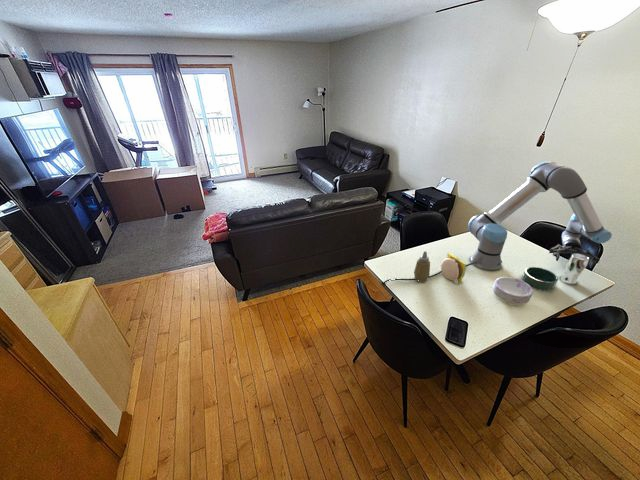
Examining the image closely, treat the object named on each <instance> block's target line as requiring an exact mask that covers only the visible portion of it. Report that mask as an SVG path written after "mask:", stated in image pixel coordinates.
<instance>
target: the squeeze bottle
mask: <svg viewBox="0 0 640 480" xmlns="http://www.w3.org/2000/svg"><path fill="white" fill-rule="evenodd" d="M415 263H416V264H415V267H414V271H413V275H414V279H415V278H416V280H415V281H417V282H419V283H425V282H427V280H428V279H429V278H428V277H429V276H431V275H430V272H431V261H430V257H429V256H428V252H427V250H424V251H423V253H422V255H420V256H419V258H418V259H417V260H416V262H415ZM418 280H419V281H418Z"/></svg>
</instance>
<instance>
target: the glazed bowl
mask: <svg viewBox="0 0 640 480" xmlns="http://www.w3.org/2000/svg"><path fill="white" fill-rule="evenodd" d="M521 280H522V281H524V282H526V283H527V284H528V285H530V286H531V288H532V289H536V290H538V291H544V292H546V291H552V290H554V289H555V287H556V285H557V283H558V281H559V277H558V275H556V273H554V272H553V271H551V270H549V269H546V268H543V267H538V266H528V267H526V268H525V270H524V271H523V273H522V276H521Z"/></svg>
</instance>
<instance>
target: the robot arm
mask: <svg viewBox="0 0 640 480" xmlns="http://www.w3.org/2000/svg"><path fill="white" fill-rule="evenodd" d="M550 189H552V190H554V191H556V192H557V193H559V194H560V196H561V198H562V199H563V200H566V201H567V203H568V205H569V207H570V208H571V210H572V212H573V214H572V215H571V217H570V218H569V221H568V223H567V224H566V228H565V230H564V231H562V233H561V236H560V237H561V243H562V245H561V244H560V243H557V245H554V246H553V247H551V248H550V249H549V251H548V254H552V256H553V257H555V261H556V262H558V261H559V259H560V258H561V255H560V254H571V255H572V254H574V253H577V254H582V255H585V256H587V257H588V258H589V261H588V265H589V266H588V267H589V269H590V270H592V269H593V268H594V267H595V265H596V264H599V262H600V260H601V259H600V258H599V257H598V256H596V255H595V254H594V253H592V252H591V251H590V250H589V249H586V250H583V249H582V245H581V240H580V238H581V236H584V237H585V238H587V239H589V240H591V241H592V242H594V243H596V244H605V243H607V242H609V241H610V240H611V238H612V235H613V234H612V232H611V231H609V230H608V229H606V228H605V227H604V226H603V224H602V222H601V220H600V218H599V216H598V214H597V212H596V210H595V208H594V206H593V204H592V202H591V200H590V198H589V196H588V194H587V191H588V188H587V186H586V184H585V182H584V181H583V179H582V177H581V176H580V175H579V173H578V171H576V170H575V169H573V168H571V167H569V166H565V165H562V164H559V163H557V162H555V161H554V162H553V161H543V162H540V163H538V164H536V165H535V166H533V167H532V169H531V170H530V173H529V176H528V177H526V182H524V183H523V184H522V185H521V186H520V187H518V188H517V189H516V190H515V191H513V192H512V193H511V194H510V195H509V196H508V197H506V198H505V199H504V200H502V201H501V202H500V203H499V204H498V205H496V206H495V207H494V208H492V209H491V210H489V211H488V212H485V211H484V212H483V213H482V214H477V215H474V216H472V217H471V218H470V219H469V221H468V223H467V229H468V231H469V232H470V234H472V235H473V237H475V239H476V240H477V241H478V242H479V243H478V246H477V249H476V251H474V253H473V254H472V256H471V257H470V263H468V264H466V267H465V268H467V267H469V266H471V265H473V266H475V267H477V268H478V269H482V270H485V271H497V270H499V269H500V268H501V266H502V264H503V260H502V257H501V256H502V255H501V254H502V251H503V249H504V246H505V244H506V240H507V238H508V230H507V228H506V227H504V226H503V225H501V223H502V222H504V221H505V220H506V219H507V218H508V217H510V216H511V215H512V214H514V213H515V212H516V211H518V210H519V209H520V208H522V207H523V206H524V205H525V204H527V203H528V202H529V201H530V200H532V199H533V198H534V197H536V196H537V195H539V194H540V193H546V192H547V191H548V190H550ZM440 274H443V273H442V271H441V270H440V271H438V272H436V273H434V274H432V275H429V277H428V279H430V278H433V277H436V276H438V275H440ZM391 279H392V278H390V279H386V280H385V281H383V282H382V283H381V285H385V284H386V283H388V282H393V281H417V280H416V279H415V278H401V279H397V278H394V279H395V280H391ZM389 280H391V281H389ZM387 281H388V282H387ZM385 282H386V283H385Z"/></svg>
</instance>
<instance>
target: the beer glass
mask: <svg viewBox="0 0 640 480" xmlns="http://www.w3.org/2000/svg"><path fill="white" fill-rule="evenodd" d="M588 264H589V258H588V257H587V256H585V255H582V254H577V253H574V254H571V255H570V257H569V258H568V260H567V262H566V265H565V271H564V273H563V274H562V276H561V277H560V280H561V282H563V283H565V284H568V285H575V284H577V281H578V278H579V276H580V275H581V274H582V273H583V272H584V271H585V269H586V268H587V266H588Z"/></svg>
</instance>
